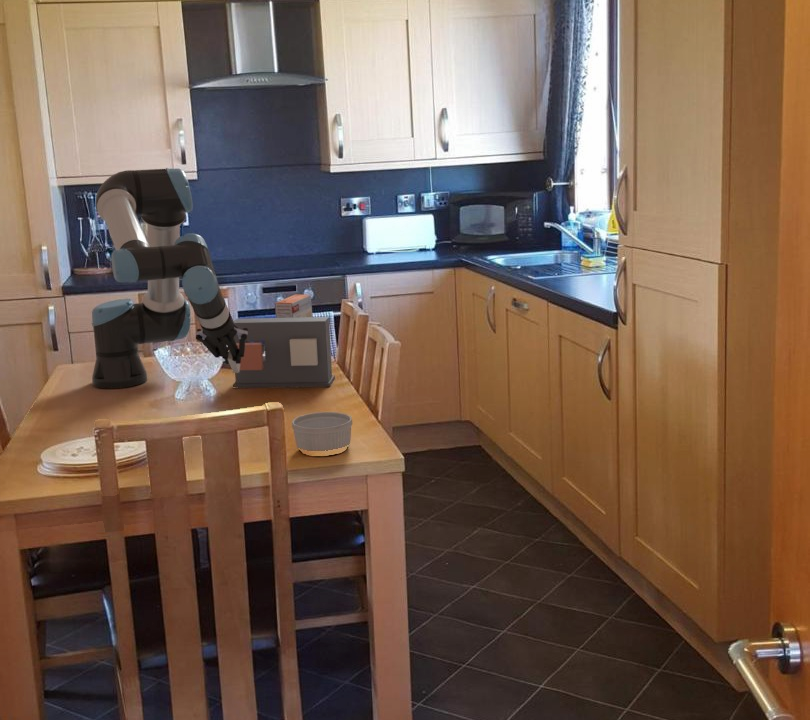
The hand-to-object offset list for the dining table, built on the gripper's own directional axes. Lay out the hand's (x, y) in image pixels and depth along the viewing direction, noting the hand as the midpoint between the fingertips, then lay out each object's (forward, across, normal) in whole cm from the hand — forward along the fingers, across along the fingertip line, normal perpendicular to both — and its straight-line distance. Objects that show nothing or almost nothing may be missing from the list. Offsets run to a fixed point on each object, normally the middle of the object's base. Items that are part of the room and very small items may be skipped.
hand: (237, 368), depth 256 cm
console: (+23, -7, -9) cm, 26 cm away
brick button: (+15, 0, -10) cm, 18 cm away
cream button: (+18, -14, -13) cm, 26 cm away
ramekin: (-18, -28, +33) cm, 47 cm away
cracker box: (+37, -7, -22) cm, 43 cm away
